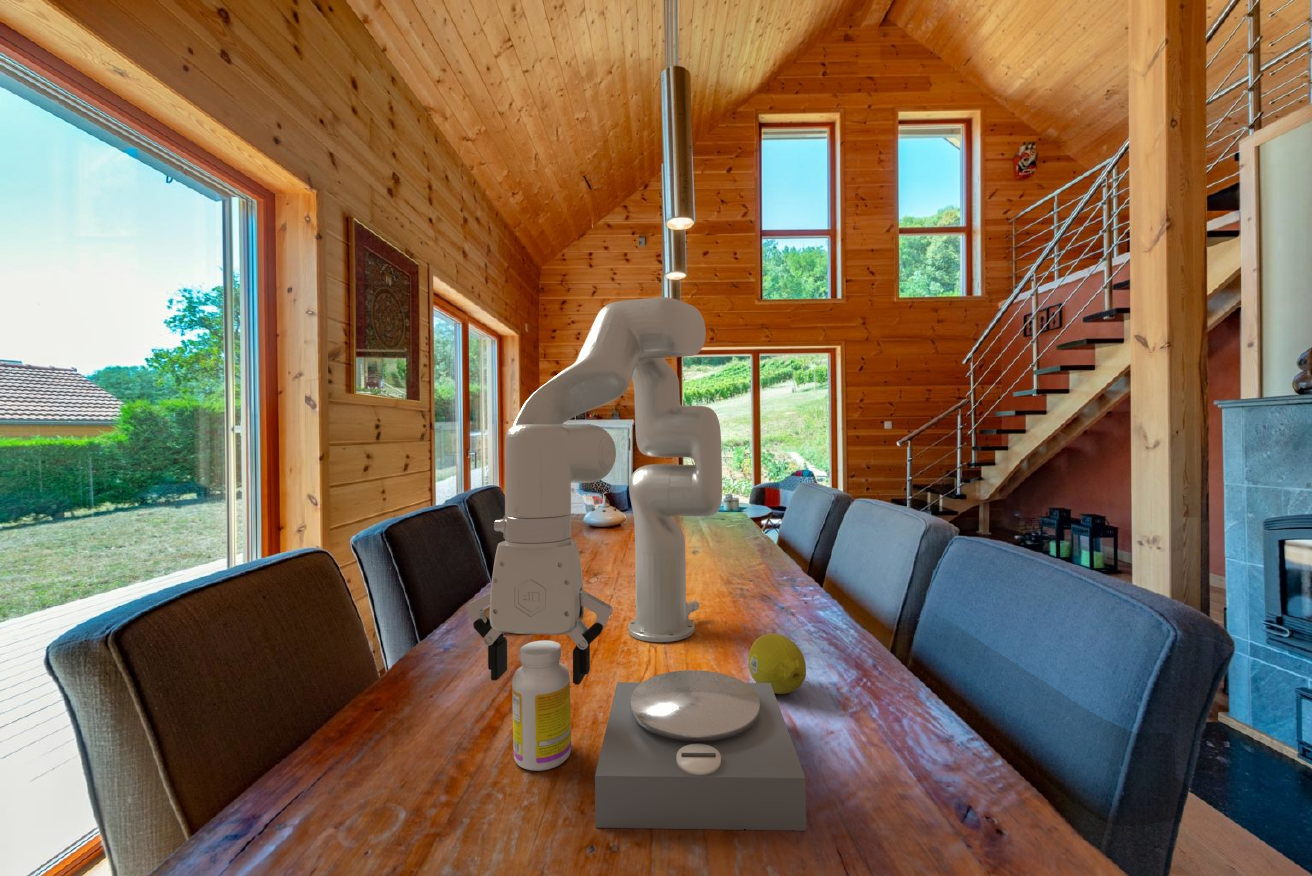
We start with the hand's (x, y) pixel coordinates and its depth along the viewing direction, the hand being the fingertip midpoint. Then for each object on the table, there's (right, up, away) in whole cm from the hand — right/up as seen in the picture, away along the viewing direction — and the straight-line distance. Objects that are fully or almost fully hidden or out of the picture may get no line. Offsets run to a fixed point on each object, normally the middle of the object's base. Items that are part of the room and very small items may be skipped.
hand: (539, 677), depth 65 cm
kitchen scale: (+18, -9, -2) cm, 20 cm away
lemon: (+31, -9, +16) cm, 36 cm away
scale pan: (+18, -4, +1) cm, 18 cm away
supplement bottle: (0, -10, +1) cm, 10 cm away
